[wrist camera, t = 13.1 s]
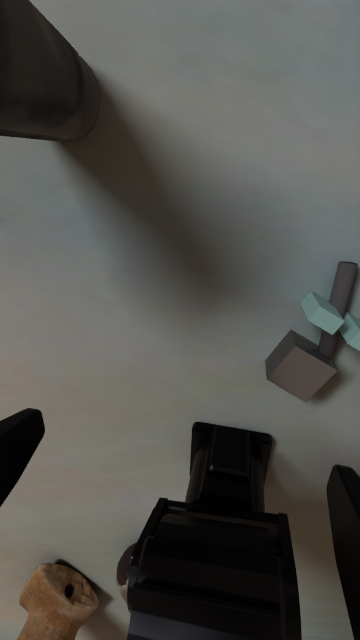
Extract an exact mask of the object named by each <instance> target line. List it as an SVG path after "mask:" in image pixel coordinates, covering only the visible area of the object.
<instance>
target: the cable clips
mask: <svg viewBox="0 0 360 640" xmlns="http://www.w3.org/2000/svg"><path fill="white" fill-rule="evenodd" d="M301 305H302V308H303V310H304V312H305V314H306V317H307V319H308V321H310V322H311V323H313V324H315V325H316V326H318V327H320V328H322V329H323V330H325V331H327V332H328V333H330V334H332V335H333V334H334V333H335V332H336V331H337V330H338V329H339V331H340V333H341V334H342V336H343V337H344V339H345V340H346V342H347V344H349V345H351V346H352V347H354V348H356V349H357V350H359V351H360V319H358V318H356V317H355V316H353V315H351V314H350V313H348V312H346V311H345V315H344V319H343V318H342V317H341V315H340V314H339V312H338V311H337V310H336V308H334V307H333V306H332V305H331V304H330V303H329V301H328V300H326V299H324V298H322V297H321V296H319V295H317V294H316V293H314V292H312V291H311V290H310V291H309V293H308V294H307V295H306V296H305V298H304V299H303V300H302V301H301Z"/></svg>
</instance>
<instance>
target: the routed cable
mask: <svg viewBox="0 0 360 640" xmlns="http://www.w3.org/2000/svg"><path fill="white" fill-rule="evenodd" d="M357 266H358V264H356V263H353V262H339V264H338V268H337V272H336V276H335V280H334V284H333V289H332V293H331V297H330V301H329V303H330V304H331V305H332V306H333V307H334V308H336V310H337V311H338V312H339V314H340V315H341V317H342V318H343V319H344V315H345V311H346V307H347V304H348V300H349V296H350V292H351V288H352V285H353V281H354V277H355V273H356V270H357ZM339 334H340V331H339V329H338V330H337V331H336V332H335V333H334V334H333V335H332V334H330V333H328V332H327V331H325V330H322V335H321V339H320V343H319V347H318V348H319V350H320V351H321V352H322V353H323V354H325V355H326V356H328V357H330V358H332V360H333V356H334V352H335V349H336V345H337V341H338V337H339Z"/></svg>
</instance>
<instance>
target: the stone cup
mask: <svg viewBox="0 0 360 640" xmlns="http://www.w3.org/2000/svg"><path fill="white" fill-rule="evenodd" d="M19 603H20V605H21V606H22V607H23V608H24V609H26V610H27V611H28V612H29V616H28V620H27V622H26V624H25V626H24V627H23V629H22V631H21V633H20V635H19V637H18V638H17V640H75V637H76V634H77V631H78V629H79V628H80V627H81V626H82V625H83V624H84V623H85V622H86V621H87V619H88V618H89V617H90V616H91V614H92V613H93V612H94V611H95V609H96V608H97V607H98V605H99V600H98V598H97V596H96V594H95V593H94V591H93V589H92V588H91V586H90V585H89V583H88V582H87V581H86V580H85V578H84V577H83V576H82V575H81V574H80V573H78V572H77V571H75V570H73V569H72V568H68V567H67V566H63V565H59V564H51V563H45V564H42V565H40V566H39V567H38V568H37V569H36V571H35V572H34V573H33V574H32V576H31V577H30V579H29V580H28V582H27V583H26V585H25V586H24V588H23V590H22V592H21V594H20V597H19Z"/></svg>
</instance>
